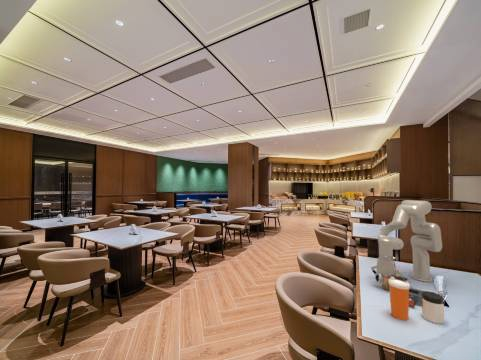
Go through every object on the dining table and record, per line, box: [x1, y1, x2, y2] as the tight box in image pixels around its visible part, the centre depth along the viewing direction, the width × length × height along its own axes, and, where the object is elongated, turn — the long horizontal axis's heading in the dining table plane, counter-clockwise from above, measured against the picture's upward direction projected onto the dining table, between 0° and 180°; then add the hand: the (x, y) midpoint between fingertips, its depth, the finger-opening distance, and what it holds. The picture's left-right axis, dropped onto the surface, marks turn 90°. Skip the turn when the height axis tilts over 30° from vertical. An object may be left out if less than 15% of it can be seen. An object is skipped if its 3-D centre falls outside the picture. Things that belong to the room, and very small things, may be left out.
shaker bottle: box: [388, 274, 411, 321], centre depth 108 cm, size 9×9×20 cm
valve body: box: [409, 286, 424, 309], centre depth 122 cm, size 17×11×6 cm, turn 133°
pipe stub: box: [381, 274, 390, 292], centre depth 137 cm, size 5×5×10 cm
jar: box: [421, 290, 445, 325], centre depth 106 cm, size 9×8×12 cm
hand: (386, 283), depth 137 cm, fingers open, 9 cm apart
